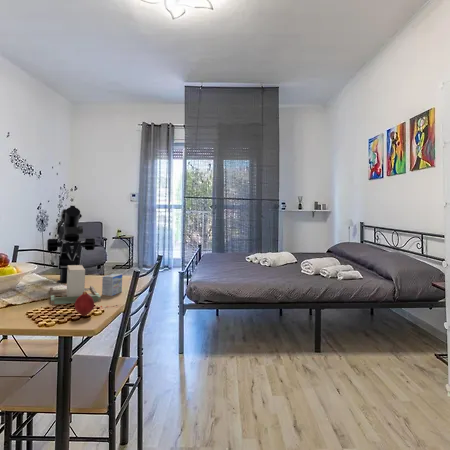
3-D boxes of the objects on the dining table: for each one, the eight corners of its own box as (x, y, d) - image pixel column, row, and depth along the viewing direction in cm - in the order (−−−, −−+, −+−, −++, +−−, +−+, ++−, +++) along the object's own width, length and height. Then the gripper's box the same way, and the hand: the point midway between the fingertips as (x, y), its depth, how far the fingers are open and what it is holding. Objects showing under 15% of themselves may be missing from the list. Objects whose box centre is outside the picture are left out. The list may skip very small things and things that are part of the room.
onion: (77, 313, 115) (78, 289, 114) (95, 313, 115) (96, 289, 115) (71, 318, 109) (72, 292, 109) (90, 319, 109) (91, 293, 109)
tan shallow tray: (49, 293, 139) (49, 285, 139) (92, 291, 146) (92, 283, 146) (50, 308, 118) (51, 298, 118) (100, 305, 126) (101, 295, 126)
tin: (66, 294, 133) (67, 265, 133) (80, 293, 135) (81, 265, 135) (68, 301, 122) (69, 270, 122) (84, 300, 125) (85, 269, 124)
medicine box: (111, 299, 135) (112, 277, 134) (101, 298, 135) (102, 276, 135) (121, 295, 142) (122, 274, 142) (111, 294, 143) (112, 273, 143)
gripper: (47, 219, 146) (46, 249, 137) (94, 219, 154) (97, 248, 145) (47, 236, 153) (47, 265, 144) (92, 235, 162) (95, 263, 153)
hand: (72, 260), depth 146 cm, fingers closed
